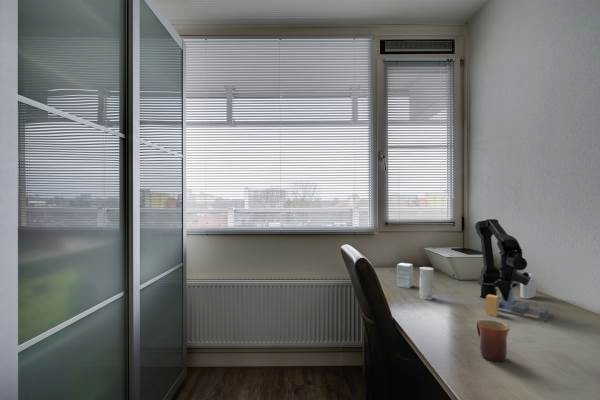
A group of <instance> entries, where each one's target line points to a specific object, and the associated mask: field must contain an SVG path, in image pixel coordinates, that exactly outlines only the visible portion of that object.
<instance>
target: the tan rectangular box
mask: <svg viewBox="0 0 600 400" xmlns="http://www.w3.org/2000/svg"><path fill="white" fill-rule="evenodd" d="M499 299H500V296H499V295H497V296H496V295H490V294H488V295H487V296H486V298H485V315H487V316H492V317H498V316H499V314H500V312H499Z"/></svg>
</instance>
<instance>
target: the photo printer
mask: <svg viewBox="0 0 600 400" xmlns="http://www.w3.org/2000/svg"><path fill="white" fill-rule="evenodd" d="M528 273H529V277H530V278H531V279H530V281H529V283H528V284H527V285H523V284H522V283H520V282H519V297H520V298H521V299H525V300H526V299H532V298H534V297H536V295H537V294H536V293H537V292H536V291H537V289H536V288H537V284H536V283H537V277H536V275H535V274H533V273H531V272H528Z"/></svg>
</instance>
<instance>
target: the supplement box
mask: <svg viewBox="0 0 600 400" xmlns="http://www.w3.org/2000/svg"><path fill="white" fill-rule="evenodd" d="M396 286H397V287H399V288H405V289H411V287H413V286H414V264H413V263H407V262H400V263H397V264H396Z"/></svg>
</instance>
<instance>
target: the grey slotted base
mask: <svg viewBox="0 0 600 400" xmlns="http://www.w3.org/2000/svg"><path fill="white" fill-rule="evenodd" d="M499 313H504V314H508V315H513V316H517V317H522V318H526V319H532V320H536V321H540V322H547V320H548V319H549V318H550V316H551V312H549V307H547V306H543V307H542V309H540V310H538V309H532V308H530V303H527V302H526V303H525V302H521V301H517V302H515V303H514V305H512V306H507V305H502V304H501V298H499Z"/></svg>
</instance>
